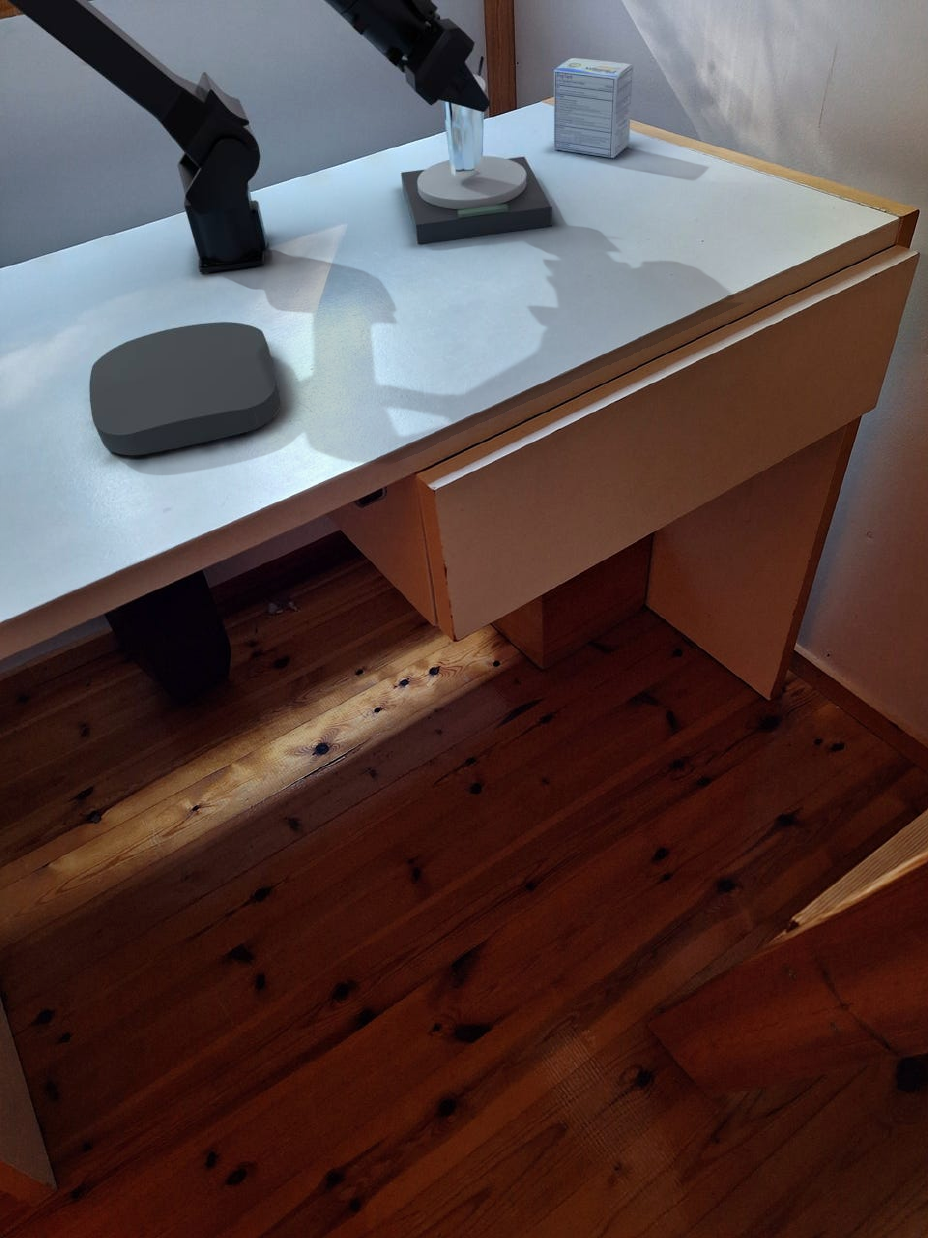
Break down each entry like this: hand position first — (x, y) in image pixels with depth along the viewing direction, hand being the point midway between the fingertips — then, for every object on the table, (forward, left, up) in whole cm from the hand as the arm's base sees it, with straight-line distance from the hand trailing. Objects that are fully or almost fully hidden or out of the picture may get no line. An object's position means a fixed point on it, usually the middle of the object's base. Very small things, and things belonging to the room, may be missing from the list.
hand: (479, 100), depth 90 cm
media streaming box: (-30, -30, -11) cm, 44 cm away
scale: (-1, 0, -10) cm, 10 cm away
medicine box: (+15, +12, -11) cm, 22 cm away
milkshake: (-1, 0, -7) cm, 7 cm away
